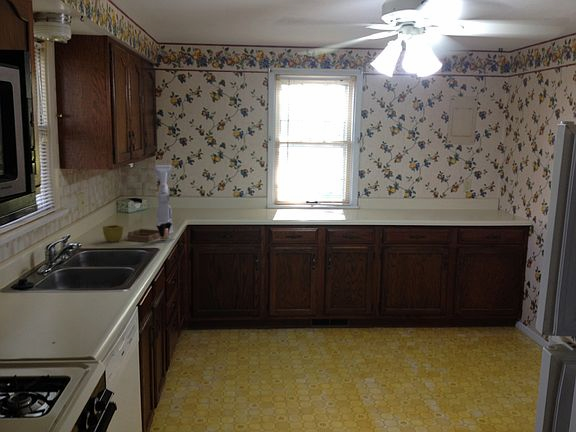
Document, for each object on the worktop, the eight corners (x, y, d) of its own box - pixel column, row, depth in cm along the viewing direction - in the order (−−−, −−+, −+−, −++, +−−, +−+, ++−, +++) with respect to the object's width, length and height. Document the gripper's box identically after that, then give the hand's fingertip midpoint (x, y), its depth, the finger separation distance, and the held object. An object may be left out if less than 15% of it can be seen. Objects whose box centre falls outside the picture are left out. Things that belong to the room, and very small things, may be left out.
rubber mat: (163, 238, 349) (163, 238, 349) (175, 239, 346) (175, 239, 346) (153, 241, 337) (153, 241, 337) (165, 243, 335) (165, 242, 335)
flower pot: (115, 239, 344) (115, 224, 342) (124, 241, 338) (123, 226, 337) (102, 241, 337) (102, 226, 335) (111, 243, 331) (110, 228, 330)
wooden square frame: (140, 235, 355) (140, 228, 354) (160, 237, 351) (160, 230, 350) (127, 240, 341) (127, 232, 341) (148, 241, 337) (148, 234, 336)
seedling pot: (162, 237, 345) (162, 227, 344) (170, 237, 343) (169, 227, 342) (158, 239, 340) (158, 229, 339) (165, 239, 338) (165, 229, 338)
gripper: (164, 211, 347) (164, 233, 349) (151, 214, 333) (152, 237, 336) (174, 212, 345) (174, 233, 347) (162, 215, 331) (162, 238, 334)
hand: (164, 235), depth 341 cm, fingers closed on seedling pot, 5 cm apart
